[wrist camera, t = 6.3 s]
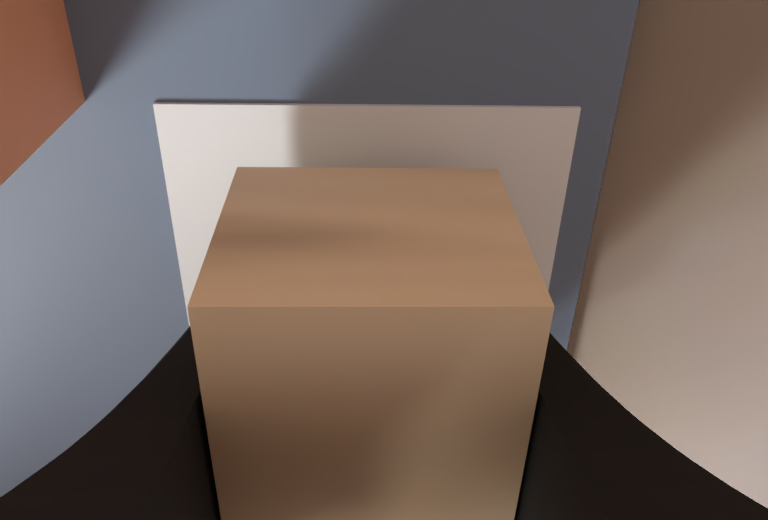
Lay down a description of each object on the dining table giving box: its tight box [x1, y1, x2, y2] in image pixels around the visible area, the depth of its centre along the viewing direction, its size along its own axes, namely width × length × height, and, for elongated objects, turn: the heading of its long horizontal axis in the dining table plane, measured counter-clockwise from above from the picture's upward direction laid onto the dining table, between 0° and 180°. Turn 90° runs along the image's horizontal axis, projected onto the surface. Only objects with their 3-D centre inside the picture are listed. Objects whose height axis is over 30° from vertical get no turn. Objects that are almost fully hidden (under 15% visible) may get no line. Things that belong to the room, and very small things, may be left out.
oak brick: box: [187, 167, 555, 520], centre depth 12 cm, size 6×4×4 cm
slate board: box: [0, 0, 640, 497], centre depth 14 cm, size 20×19×1 cm
